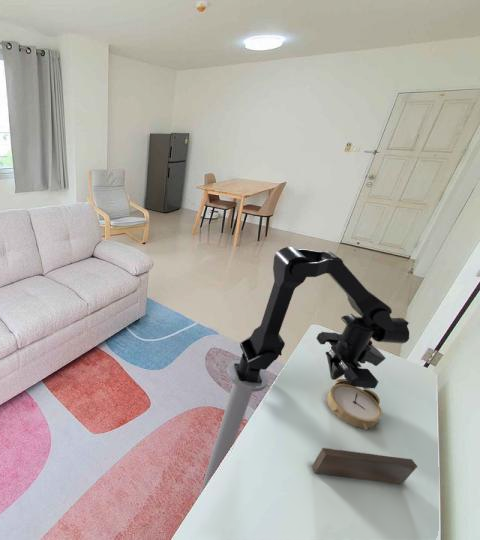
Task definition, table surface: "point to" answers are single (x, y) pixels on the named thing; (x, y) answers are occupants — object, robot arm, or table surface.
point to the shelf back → (363, 466)
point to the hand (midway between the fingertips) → (333, 378)
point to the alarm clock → (354, 404)
